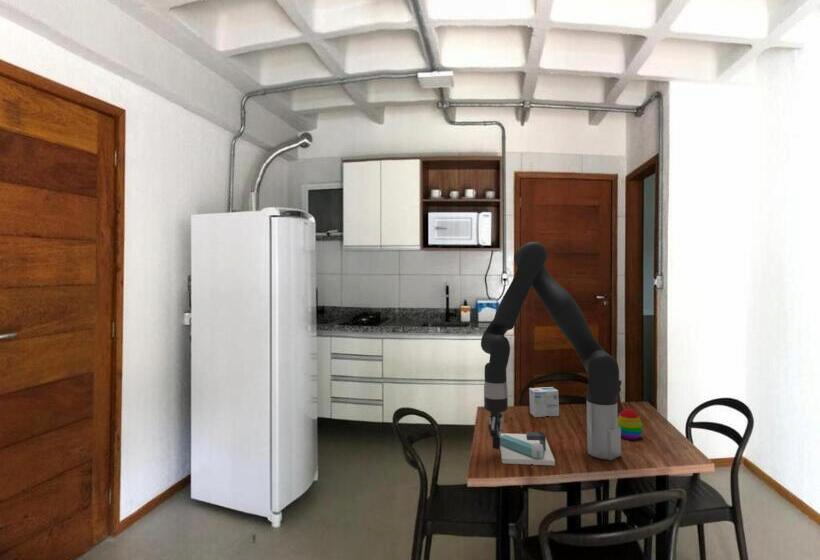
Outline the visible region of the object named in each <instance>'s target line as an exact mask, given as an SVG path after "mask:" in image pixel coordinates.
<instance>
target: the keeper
mask: <svg viewBox="0 0 820 560" xmlns="http://www.w3.org/2000/svg"><path fill="white" fill-rule="evenodd" d="M525 434H526V439H527V440H539V444H542V445H543V449H544V451H546V440H547V438H546V434H545V432H536V431H535V432H533V431H532V432H528V431H527V432H525Z"/></svg>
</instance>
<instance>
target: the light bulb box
mask: <svg viewBox="0 0 820 560" xmlns="http://www.w3.org/2000/svg"><path fill="white" fill-rule="evenodd" d="M528 391H529V392H528V393H529V394H528V395H529V413H530V414H531V415H532V416H533V418H547V417H546V416H549V417H559V416H560V404H559V403H560V401H559V399H560V398H559V390H558V389H557V388H555V387H554V386H547V387H529V388H528Z"/></svg>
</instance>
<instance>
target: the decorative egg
mask: <svg viewBox="0 0 820 560" xmlns="http://www.w3.org/2000/svg"><path fill="white" fill-rule="evenodd" d="M618 426H620V427H621V438H623V439H625V440H626V439H627V440H633V441H634V440H637V439H639V437H641V435H642V433H643V423H642V420H641V418H640V416H639V415H638V413H637V412H636V411H634V410H633V409H632V408H625V409H624V410H623V411H622V412H621V413H620V415H619V416H618Z"/></svg>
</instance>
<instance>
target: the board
mask: <svg viewBox="0 0 820 560" xmlns="http://www.w3.org/2000/svg"><path fill="white" fill-rule="evenodd" d="M502 435H508V436H511V437H513V438H516V439H519V440H522V441H524V442H527V443H530V444H533V443H539V440H527V439H526V433H504V432H503V433H502V432H501V436H502ZM499 450H500V457H501V463H502V464H506V465H507V464H511V465H531V464H533V465H534V466H535V465H536V466H537V465H538V466H556V460H555V457H554V455H553V452H552V450H551V448H550V445H549V443H548V441H547V439H546V451H544V457H543V458H541V459H536V458H533V457H531V456H529V455H526V454H524V453H521V452H519V451H516V450H514V449H511V448H508V447H506V446H503V445H501V444H500V448H499ZM533 465H532V466H533Z"/></svg>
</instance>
